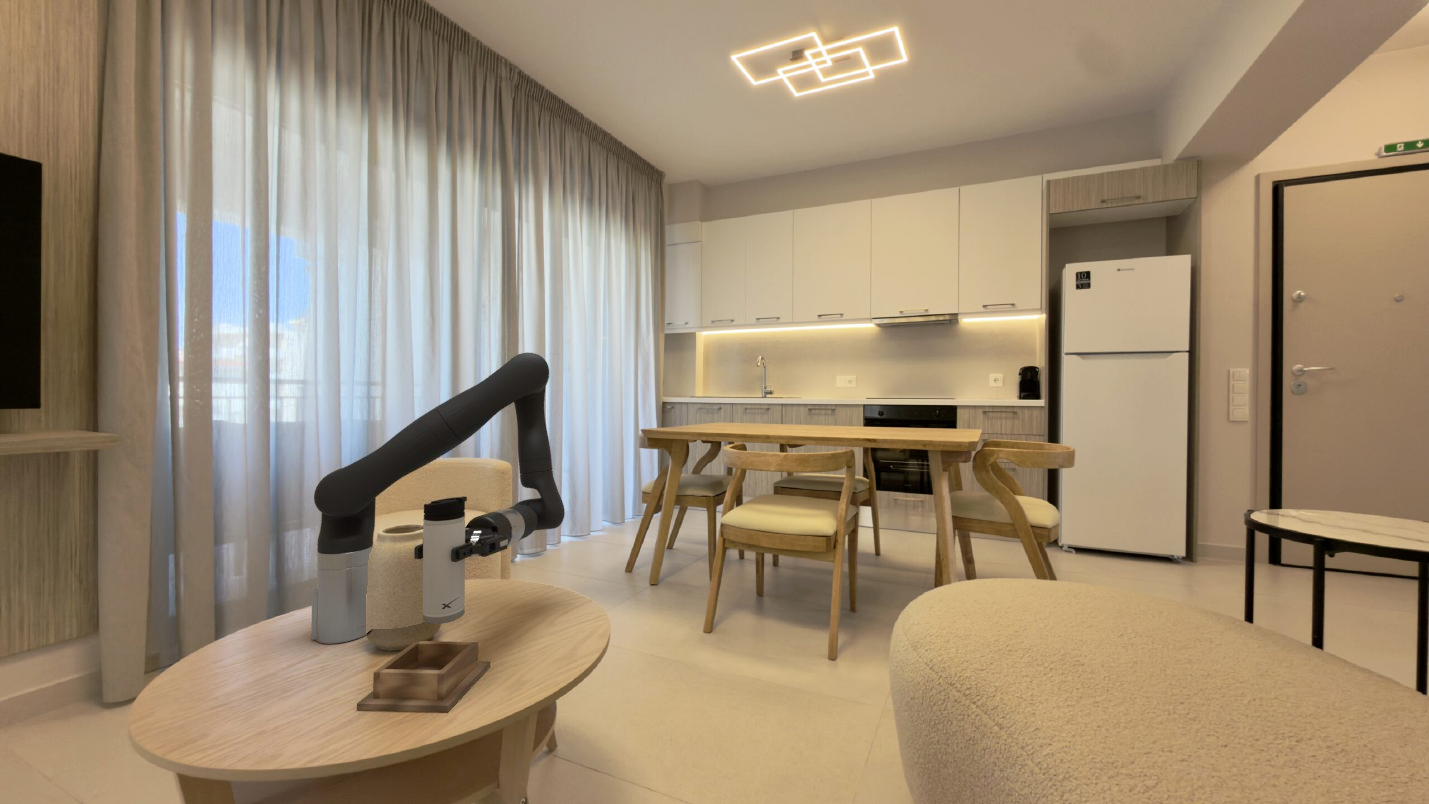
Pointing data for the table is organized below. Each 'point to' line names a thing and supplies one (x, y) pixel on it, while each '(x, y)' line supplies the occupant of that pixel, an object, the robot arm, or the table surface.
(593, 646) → the table surface
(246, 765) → the table surface
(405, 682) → the mug holder
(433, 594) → the travel mug
